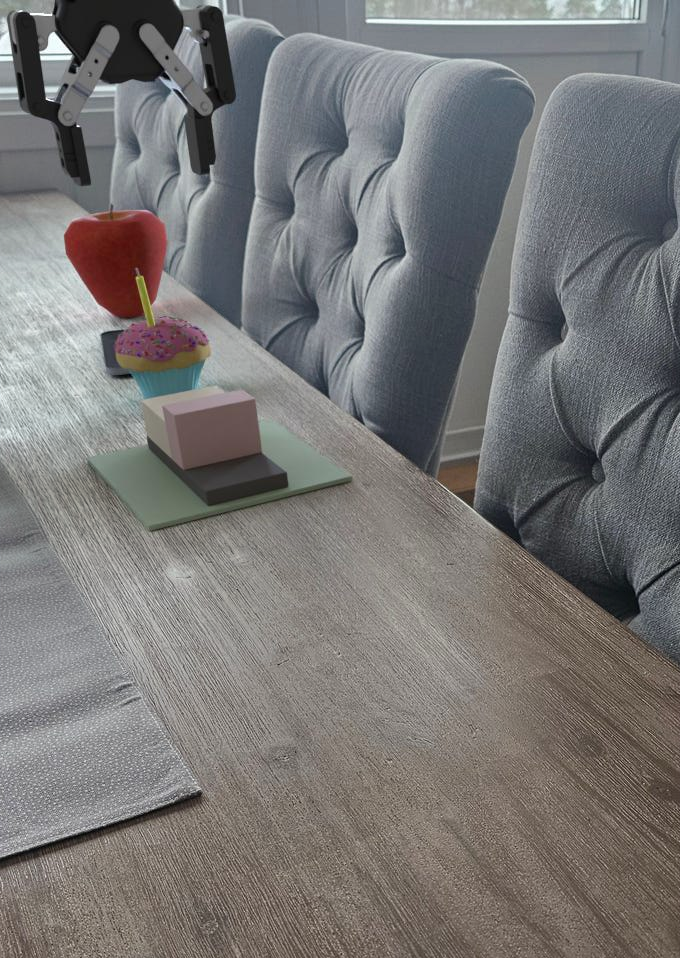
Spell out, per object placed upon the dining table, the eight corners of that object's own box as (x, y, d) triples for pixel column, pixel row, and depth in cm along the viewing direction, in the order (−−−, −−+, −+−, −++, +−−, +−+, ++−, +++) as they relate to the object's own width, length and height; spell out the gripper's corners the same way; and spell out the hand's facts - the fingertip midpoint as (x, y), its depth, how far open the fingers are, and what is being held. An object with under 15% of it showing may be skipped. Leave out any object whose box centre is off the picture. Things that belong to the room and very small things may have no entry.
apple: (159, 297, 137) (141, 190, 130) (192, 315, 129) (174, 203, 122) (68, 312, 131) (44, 202, 125) (97, 332, 124) (73, 216, 117)
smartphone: (169, 324, 123) (183, 360, 110) (171, 332, 123) (184, 369, 111) (99, 331, 121) (105, 369, 109) (100, 340, 121) (106, 378, 109)
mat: (149, 531, 79) (148, 526, 79) (87, 462, 91) (86, 457, 91) (352, 480, 86) (352, 475, 86) (270, 422, 98) (270, 417, 98)
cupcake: (195, 413, 100) (172, 274, 94) (107, 410, 102) (78, 273, 95) (230, 383, 107) (211, 252, 101) (146, 380, 109) (123, 251, 102)
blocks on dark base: (289, 486, 85) (280, 416, 82) (208, 506, 82) (196, 434, 79) (222, 433, 95) (213, 368, 92) (148, 449, 92) (136, 383, 89)
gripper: (-5, -103, 65) (54, 197, 74) (228, -100, 71) (258, 176, 80) (-31, -99, 70) (27, 181, 79) (188, -96, 76) (220, 163, 85)
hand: (143, 178), depth 79 cm, fingers open, 8 cm apart
